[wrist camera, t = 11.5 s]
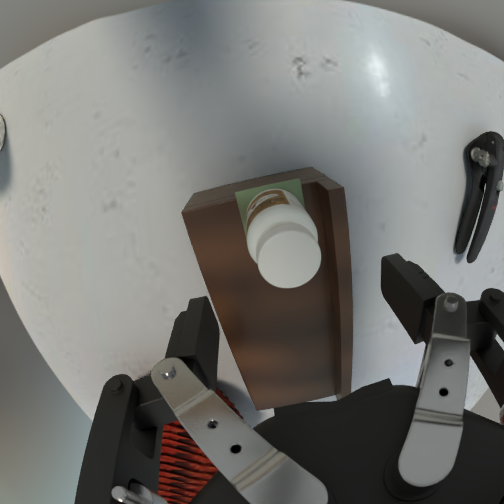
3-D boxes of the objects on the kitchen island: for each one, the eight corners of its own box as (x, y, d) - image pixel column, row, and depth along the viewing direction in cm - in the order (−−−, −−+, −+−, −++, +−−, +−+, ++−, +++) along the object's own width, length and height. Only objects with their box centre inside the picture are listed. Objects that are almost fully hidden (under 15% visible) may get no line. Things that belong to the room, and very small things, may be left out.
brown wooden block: (192, 188, 27) (170, 219, 19) (311, 161, 26) (343, 180, 18) (254, 377, 39) (257, 428, 31) (333, 360, 38) (349, 410, 30)
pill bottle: (267, 176, 20) (281, 205, 13) (313, 208, 21) (346, 251, 15) (234, 222, 22) (231, 271, 15) (279, 250, 23) (295, 308, 16)
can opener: (462, 120, 23) (493, 125, 18) (493, 134, 24) (522, 142, 19) (438, 252, 31) (462, 273, 26) (469, 253, 31) (492, 272, 26)
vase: (260, 425, 46) (270, 566, 19) (147, 426, 47) (126, 550, 20) (240, 344, 36) (246, 579, 9) (92, 350, 36) (29, 518, 9)
